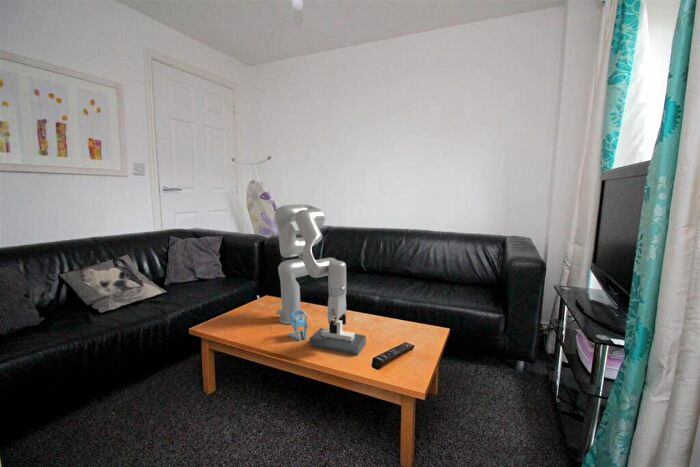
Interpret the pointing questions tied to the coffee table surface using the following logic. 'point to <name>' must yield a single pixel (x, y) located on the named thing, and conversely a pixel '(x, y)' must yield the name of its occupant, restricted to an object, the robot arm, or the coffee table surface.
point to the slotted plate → (338, 343)
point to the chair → (298, 325)
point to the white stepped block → (339, 333)
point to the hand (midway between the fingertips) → (337, 328)
